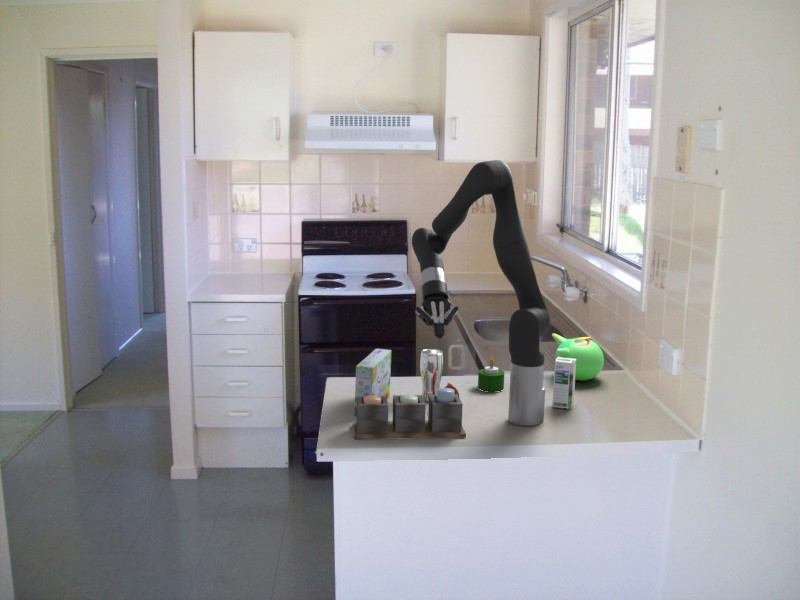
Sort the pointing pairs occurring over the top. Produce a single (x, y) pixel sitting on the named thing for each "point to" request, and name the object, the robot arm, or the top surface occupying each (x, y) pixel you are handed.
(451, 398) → the pale blue rounded piece
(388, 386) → the snack box
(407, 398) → the sage button
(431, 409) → the button board
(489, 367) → the candle
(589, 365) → the toy bird
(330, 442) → the top surface
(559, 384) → the syrup box
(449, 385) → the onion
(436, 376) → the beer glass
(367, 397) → the terracotta button
